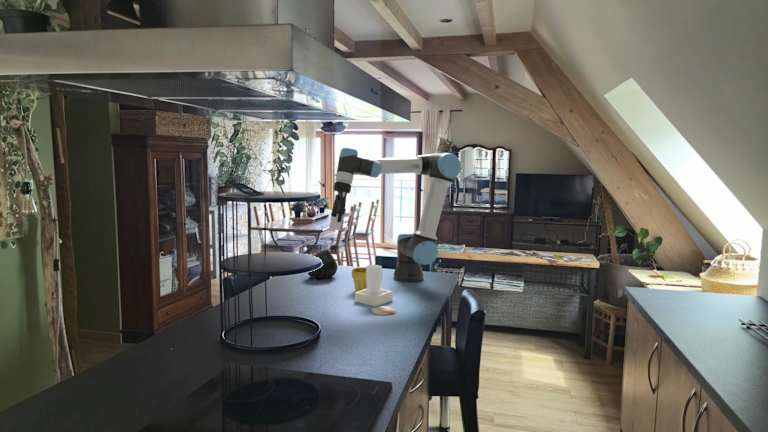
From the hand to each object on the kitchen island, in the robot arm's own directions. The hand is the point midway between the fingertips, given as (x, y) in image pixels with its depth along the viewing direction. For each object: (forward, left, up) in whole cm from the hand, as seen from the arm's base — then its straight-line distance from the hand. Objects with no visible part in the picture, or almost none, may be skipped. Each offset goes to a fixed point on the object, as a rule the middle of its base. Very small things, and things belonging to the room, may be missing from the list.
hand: (334, 230), depth 219 cm
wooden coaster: (+4, +30, -29) cm, 42 cm away
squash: (-22, -28, -29) cm, 46 cm away
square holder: (-5, +18, -29) cm, 35 cm away
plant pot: (-15, +4, -29) cm, 33 cm away
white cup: (-5, +18, -29) cm, 35 cm away
